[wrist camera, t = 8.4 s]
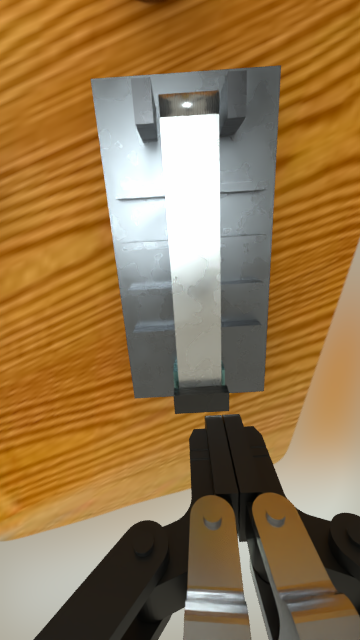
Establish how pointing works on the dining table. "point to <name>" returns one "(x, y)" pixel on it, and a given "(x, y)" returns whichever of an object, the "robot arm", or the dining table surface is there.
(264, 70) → the clamp base
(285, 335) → the dining table surface
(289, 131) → the dining table surface
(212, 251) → the bar
